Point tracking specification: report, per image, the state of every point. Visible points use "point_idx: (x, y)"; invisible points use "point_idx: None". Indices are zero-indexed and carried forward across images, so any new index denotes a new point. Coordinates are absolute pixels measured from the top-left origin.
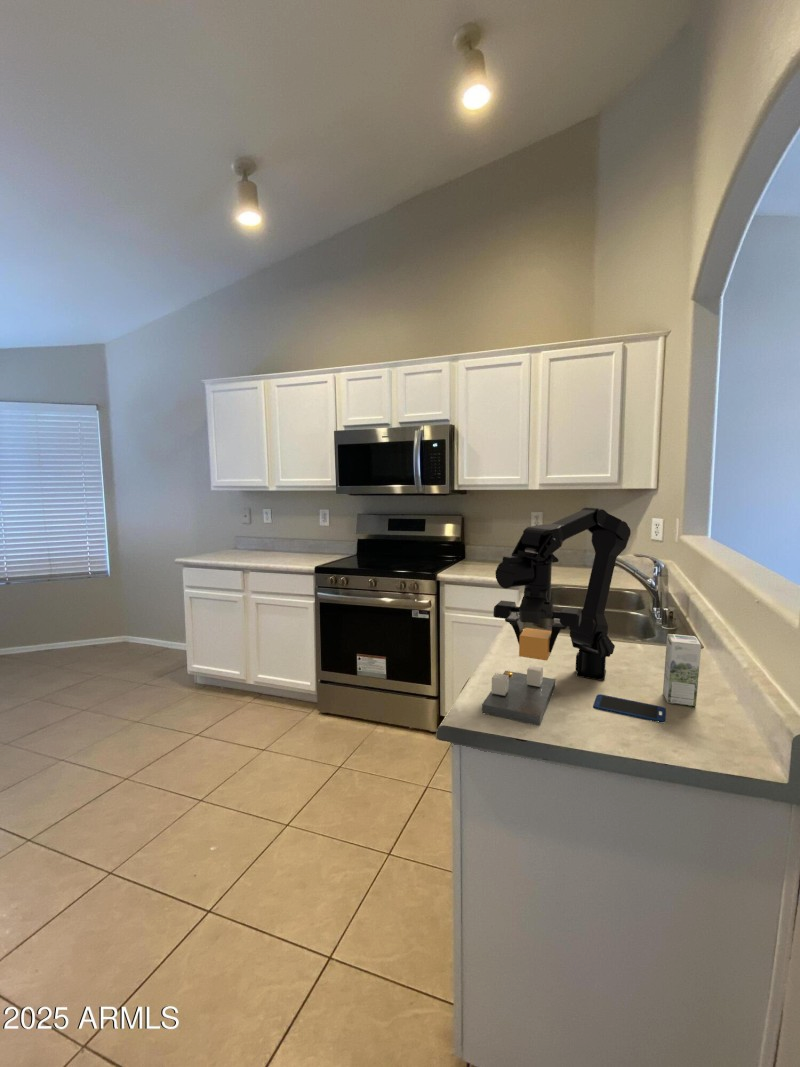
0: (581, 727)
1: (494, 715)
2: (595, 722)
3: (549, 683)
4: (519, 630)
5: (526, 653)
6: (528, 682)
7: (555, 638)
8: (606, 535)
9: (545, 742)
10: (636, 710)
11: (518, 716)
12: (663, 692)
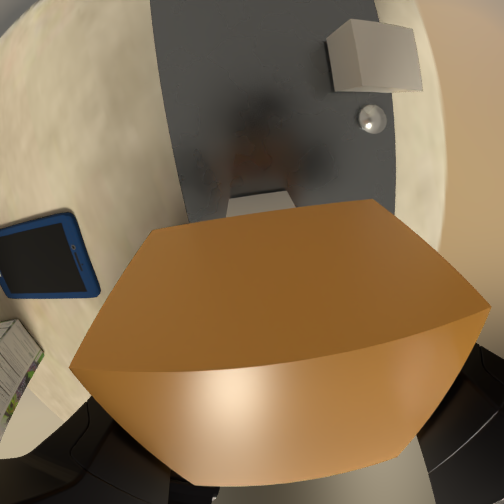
0: (59, 75)
1: None
2: (42, 131)
3: None
4: (482, 392)
5: (326, 218)
6: (280, 195)
7: (75, 412)
8: None
9: None
10: (15, 254)
11: None
12: (40, 352)
